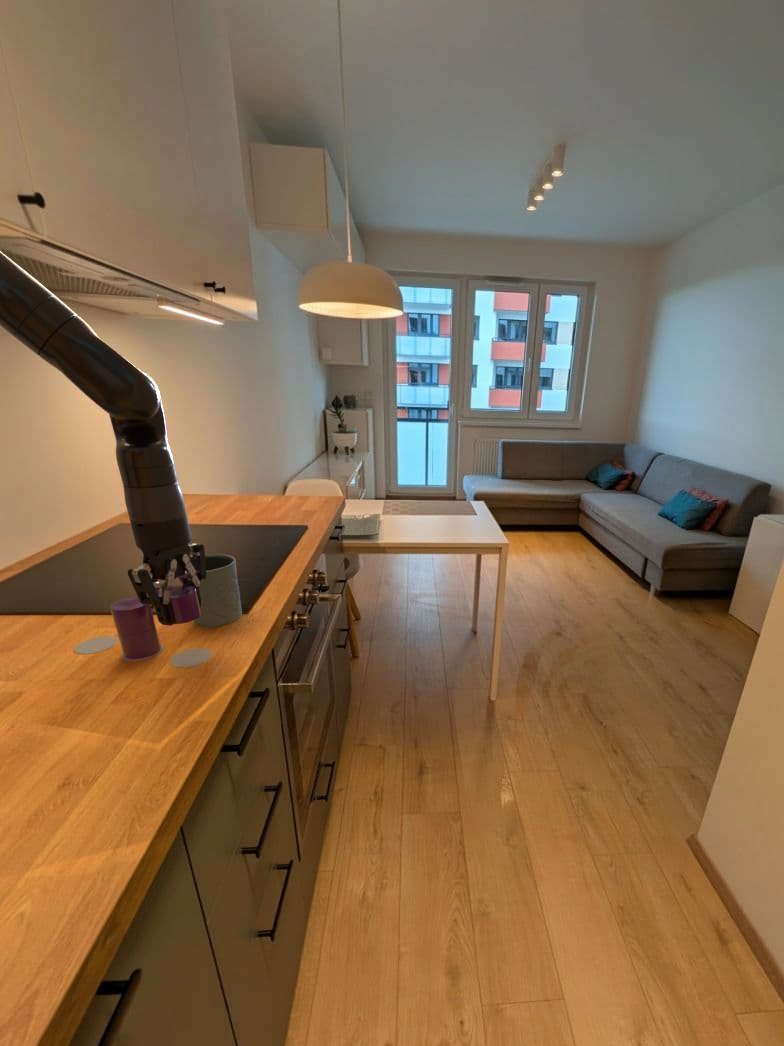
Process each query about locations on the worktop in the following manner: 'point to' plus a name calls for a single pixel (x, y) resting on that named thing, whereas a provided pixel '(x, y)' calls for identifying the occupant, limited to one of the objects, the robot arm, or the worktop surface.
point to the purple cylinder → (132, 616)
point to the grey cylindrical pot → (219, 592)
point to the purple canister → (184, 603)
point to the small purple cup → (140, 644)
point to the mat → (178, 660)
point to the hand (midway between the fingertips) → (181, 615)
